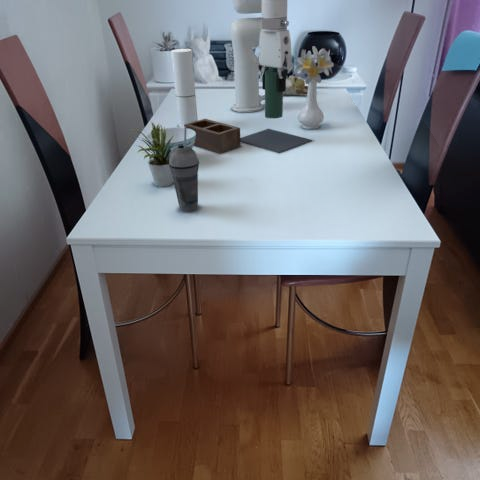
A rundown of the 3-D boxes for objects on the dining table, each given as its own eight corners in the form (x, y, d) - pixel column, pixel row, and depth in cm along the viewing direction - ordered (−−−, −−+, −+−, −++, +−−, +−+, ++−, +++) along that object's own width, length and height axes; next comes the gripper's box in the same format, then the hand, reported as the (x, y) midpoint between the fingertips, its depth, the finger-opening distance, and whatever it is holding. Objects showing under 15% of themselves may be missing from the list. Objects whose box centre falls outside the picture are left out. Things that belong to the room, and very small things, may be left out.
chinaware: (207, 158, 154) (205, 133, 149) (171, 171, 145) (168, 145, 141) (176, 149, 162) (173, 124, 158) (140, 161, 154) (136, 136, 149)
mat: (268, 129, 176) (268, 128, 175) (311, 140, 164) (311, 139, 164) (236, 140, 167) (236, 139, 167) (279, 153, 155) (279, 151, 155)
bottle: (273, 112, 164) (273, 54, 153) (286, 115, 160) (287, 55, 150) (261, 116, 161) (261, 56, 150) (274, 119, 157) (274, 58, 147)
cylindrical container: (199, 122, 186) (193, 48, 171) (196, 128, 180) (189, 51, 165) (181, 123, 187) (173, 48, 172) (177, 128, 181) (169, 52, 166)
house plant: (131, 178, 142) (120, 119, 132) (176, 169, 146) (169, 112, 137) (143, 195, 132) (133, 133, 122) (191, 186, 136) (185, 125, 126)
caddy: (206, 136, 172) (205, 118, 169) (240, 146, 162) (240, 127, 158) (185, 142, 167) (183, 124, 164) (219, 153, 157) (218, 134, 153)
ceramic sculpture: (278, 70, 216) (312, 72, 215) (277, 91, 221) (310, 93, 220) (277, 75, 207) (313, 77, 206) (276, 97, 213) (310, 99, 212)
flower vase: (297, 136, 169) (300, 54, 154) (290, 121, 183) (292, 45, 168) (334, 134, 169) (341, 52, 154) (324, 119, 184) (329, 43, 169)
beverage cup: (174, 203, 127) (164, 123, 115) (202, 201, 127) (195, 121, 115) (174, 215, 121) (163, 132, 109) (203, 213, 121) (196, 130, 109)
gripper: (304, 24, 142) (302, 91, 153) (262, 21, 152) (262, 84, 163) (287, 27, 138) (286, 96, 149) (245, 24, 148) (246, 88, 159)
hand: (273, 89), depth 156 cm, fingers closed on bottle, 5 cm apart
